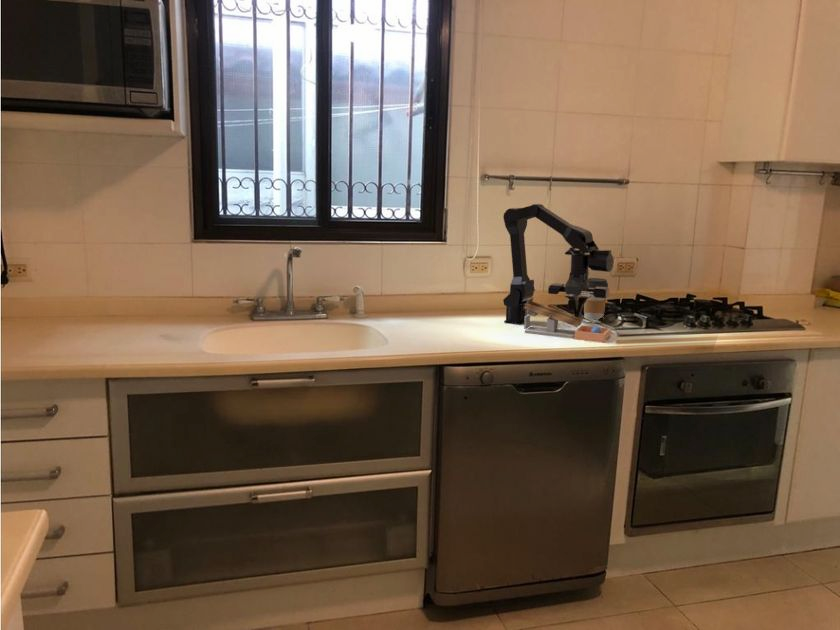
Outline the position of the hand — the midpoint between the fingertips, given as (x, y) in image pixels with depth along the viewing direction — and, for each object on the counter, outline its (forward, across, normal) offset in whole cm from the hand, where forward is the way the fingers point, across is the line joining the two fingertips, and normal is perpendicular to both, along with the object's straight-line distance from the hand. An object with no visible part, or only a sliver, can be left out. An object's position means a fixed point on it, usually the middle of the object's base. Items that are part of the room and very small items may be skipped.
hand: (577, 316), depth 215 cm
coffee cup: (+6, +1, +18) cm, 19 cm away
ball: (+3, +8, -6) cm, 10 cm away
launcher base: (+5, -7, -6) cm, 10 cm away
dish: (+5, +7, -6) cm, 10 cm away
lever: (+1, -7, -3) cm, 8 cm away
